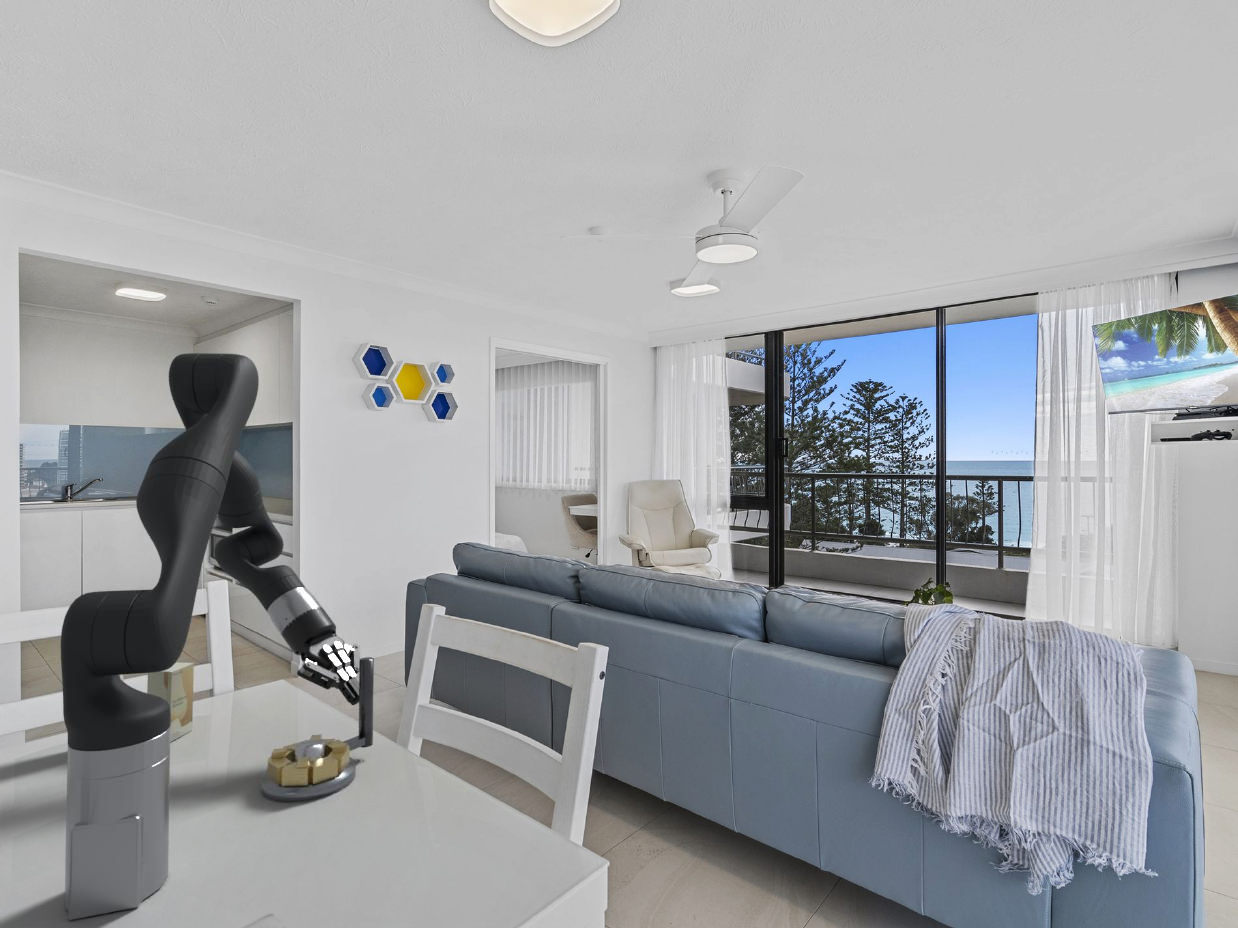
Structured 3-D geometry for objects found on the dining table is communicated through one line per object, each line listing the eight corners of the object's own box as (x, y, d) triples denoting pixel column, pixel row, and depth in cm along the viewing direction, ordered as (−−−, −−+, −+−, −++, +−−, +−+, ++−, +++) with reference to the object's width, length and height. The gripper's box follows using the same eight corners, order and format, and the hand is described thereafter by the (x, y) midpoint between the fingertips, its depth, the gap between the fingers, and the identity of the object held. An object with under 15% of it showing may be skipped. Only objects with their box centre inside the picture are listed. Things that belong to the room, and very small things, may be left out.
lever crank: (287, 792, 93) (289, 691, 93) (258, 770, 100) (259, 675, 100) (394, 756, 105) (395, 666, 105) (361, 737, 112) (362, 653, 112)
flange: (355, 793, 96) (355, 755, 96) (254, 809, 92) (254, 769, 92) (355, 757, 109) (356, 723, 109) (266, 769, 104) (267, 734, 104)
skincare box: (169, 743, 113) (170, 672, 113) (144, 743, 113) (145, 671, 114) (194, 729, 120) (195, 661, 120) (170, 728, 120) (171, 661, 120)
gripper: (283, 614, 106) (345, 700, 103) (341, 598, 119) (398, 674, 115) (257, 644, 108) (317, 729, 104) (317, 625, 121) (372, 701, 117)
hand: (359, 700), depth 110 cm, fingers closed
